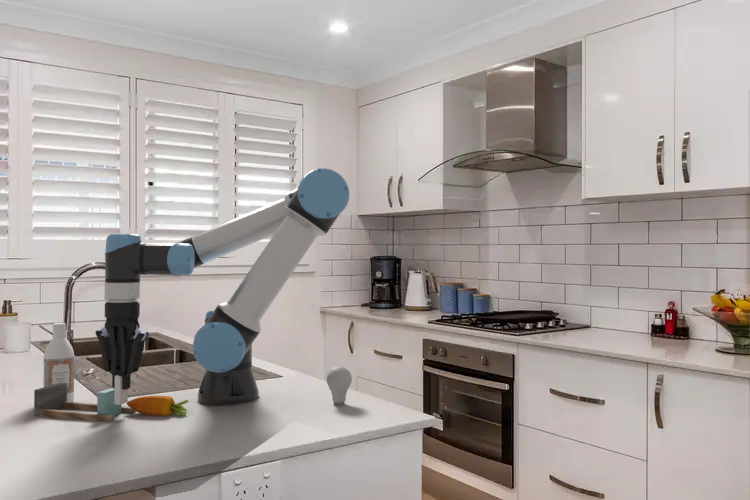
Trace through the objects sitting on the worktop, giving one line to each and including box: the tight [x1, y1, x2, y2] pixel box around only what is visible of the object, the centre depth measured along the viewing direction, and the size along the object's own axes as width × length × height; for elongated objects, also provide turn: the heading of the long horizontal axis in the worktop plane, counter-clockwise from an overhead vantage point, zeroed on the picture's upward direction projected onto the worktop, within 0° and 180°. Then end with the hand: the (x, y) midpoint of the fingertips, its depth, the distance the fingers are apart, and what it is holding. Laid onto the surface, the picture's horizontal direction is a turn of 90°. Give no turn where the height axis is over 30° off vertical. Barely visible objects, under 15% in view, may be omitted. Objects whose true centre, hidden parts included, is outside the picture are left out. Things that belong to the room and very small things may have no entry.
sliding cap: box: [96, 387, 122, 417], centre depth 146 cm, size 2×6×6 cm, turn 163°
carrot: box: [126, 395, 189, 417], centre depth 147 cm, size 5×5×15 cm
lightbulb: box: [326, 365, 353, 407], centre depth 152 cm, size 6×6×11 cm
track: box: [33, 383, 137, 423], centre depth 148 cm, size 22×8×6 cm, turn 73°
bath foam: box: [43, 322, 75, 402], centre depth 160 cm, size 7×7×20 cm
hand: (121, 403), depth 145 cm, fingers closed
